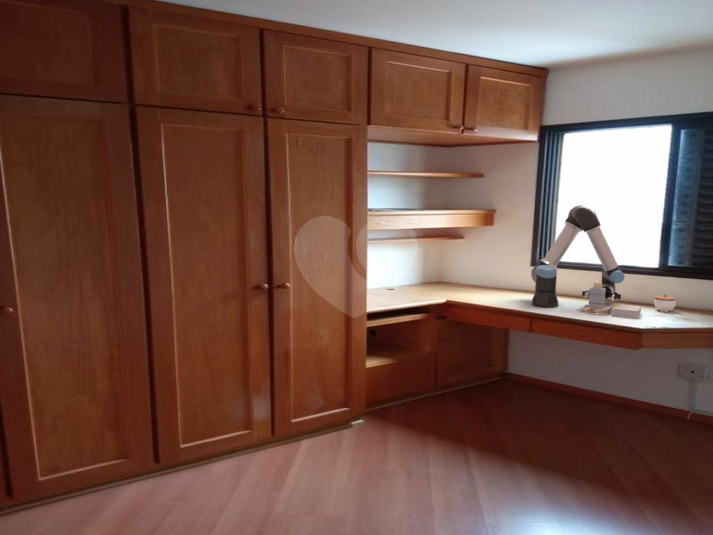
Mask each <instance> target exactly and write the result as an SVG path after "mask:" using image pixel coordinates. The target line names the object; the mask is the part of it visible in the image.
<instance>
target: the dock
mask: <svg viewBox="0 0 713 535" xmlns="http://www.w3.org/2000/svg"><path fill="white" fill-rule="evenodd" d="M641 309H642V307H641V306H639V305H638V306H637V305H627V304H618V303H616V304H615V305H614V307H612V311H611V312H612V315H615V316H614V317H619V316H623V317H622V318H628V317H631V318H630V319H638V318H639V317H640V315H641V314H640V313H641V312H642V310H641ZM638 316H639V317H638Z"/></svg>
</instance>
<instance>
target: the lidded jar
mask: <svg viewBox="0 0 713 535" xmlns="http://www.w3.org/2000/svg"><path fill="white" fill-rule="evenodd" d="M653 297H654V298H653V301H654V302H653V303H654V306H655V308H656V309H657V311H658V310H660V311H659V312H663V311H670V312H671V311H672V310H674V308H675V307H676V302H677V298H676V297H674V296H671V295H667V294H666V293H664V295H655V296H653Z"/></svg>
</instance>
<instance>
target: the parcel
mask: <svg viewBox="0 0 713 535" xmlns="http://www.w3.org/2000/svg"><path fill="white" fill-rule="evenodd" d="M592 287H593V288H594V289H602V283H601V282H596V281H595V282H593V286H592Z"/></svg>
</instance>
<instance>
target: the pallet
mask: <svg viewBox="0 0 713 535" xmlns="http://www.w3.org/2000/svg"><path fill="white" fill-rule="evenodd" d="M610 311H611V312H612V306H606V305H605V307H604V308H603V309H593V308H589V304H586V305H584V306H582V308H581V313H583V312H586V314H592V313H598V314H597V315H601V314H606V315H605V316H608V315H609V314H610V313H611V312H610ZM608 313H609V314H608ZM607 314H608V315H607Z"/></svg>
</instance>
